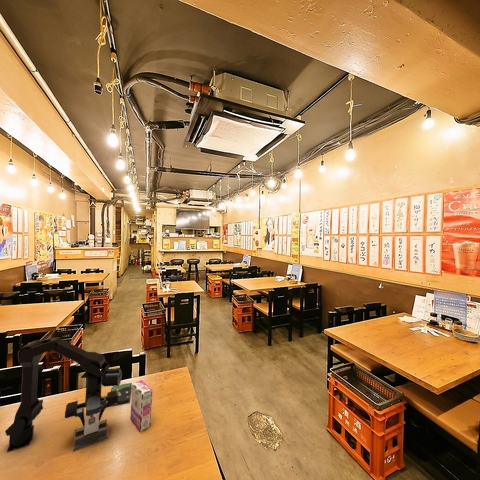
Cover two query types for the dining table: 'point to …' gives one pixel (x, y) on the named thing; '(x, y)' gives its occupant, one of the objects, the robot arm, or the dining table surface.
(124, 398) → the disk drive
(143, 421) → the candy bar box
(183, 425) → the dining table surface
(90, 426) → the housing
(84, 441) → the stand
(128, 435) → the dining table surface
